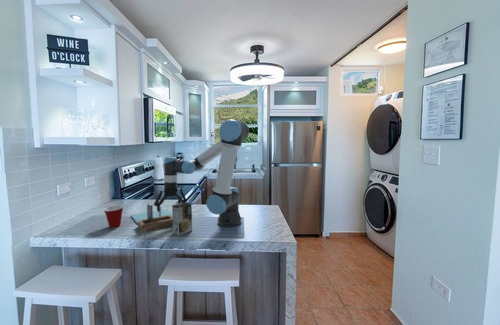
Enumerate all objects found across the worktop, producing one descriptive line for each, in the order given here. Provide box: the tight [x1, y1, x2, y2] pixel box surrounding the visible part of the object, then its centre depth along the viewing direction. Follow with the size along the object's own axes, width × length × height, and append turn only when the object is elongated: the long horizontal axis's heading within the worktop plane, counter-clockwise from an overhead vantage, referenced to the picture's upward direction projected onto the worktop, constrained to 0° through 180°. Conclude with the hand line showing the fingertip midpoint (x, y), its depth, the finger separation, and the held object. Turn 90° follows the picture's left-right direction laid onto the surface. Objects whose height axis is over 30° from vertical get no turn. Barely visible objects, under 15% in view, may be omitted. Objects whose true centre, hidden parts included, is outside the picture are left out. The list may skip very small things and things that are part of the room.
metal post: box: [146, 203, 154, 223], centre depth 142 cm, size 3×3×14 cm
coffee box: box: [171, 202, 193, 236], centre depth 135 cm, size 9×6×16 cm
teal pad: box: [130, 208, 173, 225], centre depth 163 cm, size 20×24×1 cm
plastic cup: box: [102, 204, 124, 229], centre depth 144 cm, size 11×11×12 cm
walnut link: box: [137, 215, 173, 233], centre depth 145 cm, size 10×20×4 cm, turn 127°
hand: (170, 214), depth 150 cm, fingers open, 13 cm apart
